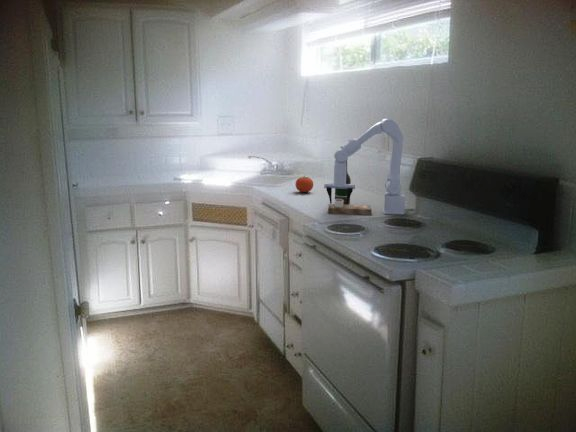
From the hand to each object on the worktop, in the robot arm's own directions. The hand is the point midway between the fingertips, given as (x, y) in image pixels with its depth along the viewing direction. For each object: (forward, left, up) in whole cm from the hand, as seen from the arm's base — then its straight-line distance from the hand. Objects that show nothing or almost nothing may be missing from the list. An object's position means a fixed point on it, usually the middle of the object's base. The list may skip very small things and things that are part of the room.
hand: (338, 203), depth 248 cm
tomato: (+19, -50, -4) cm, 54 cm away
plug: (0, 0, -4) cm, 4 cm away
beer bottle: (-2, -18, -4) cm, 19 cm away
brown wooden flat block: (-5, 0, -4) cm, 6 cm away
